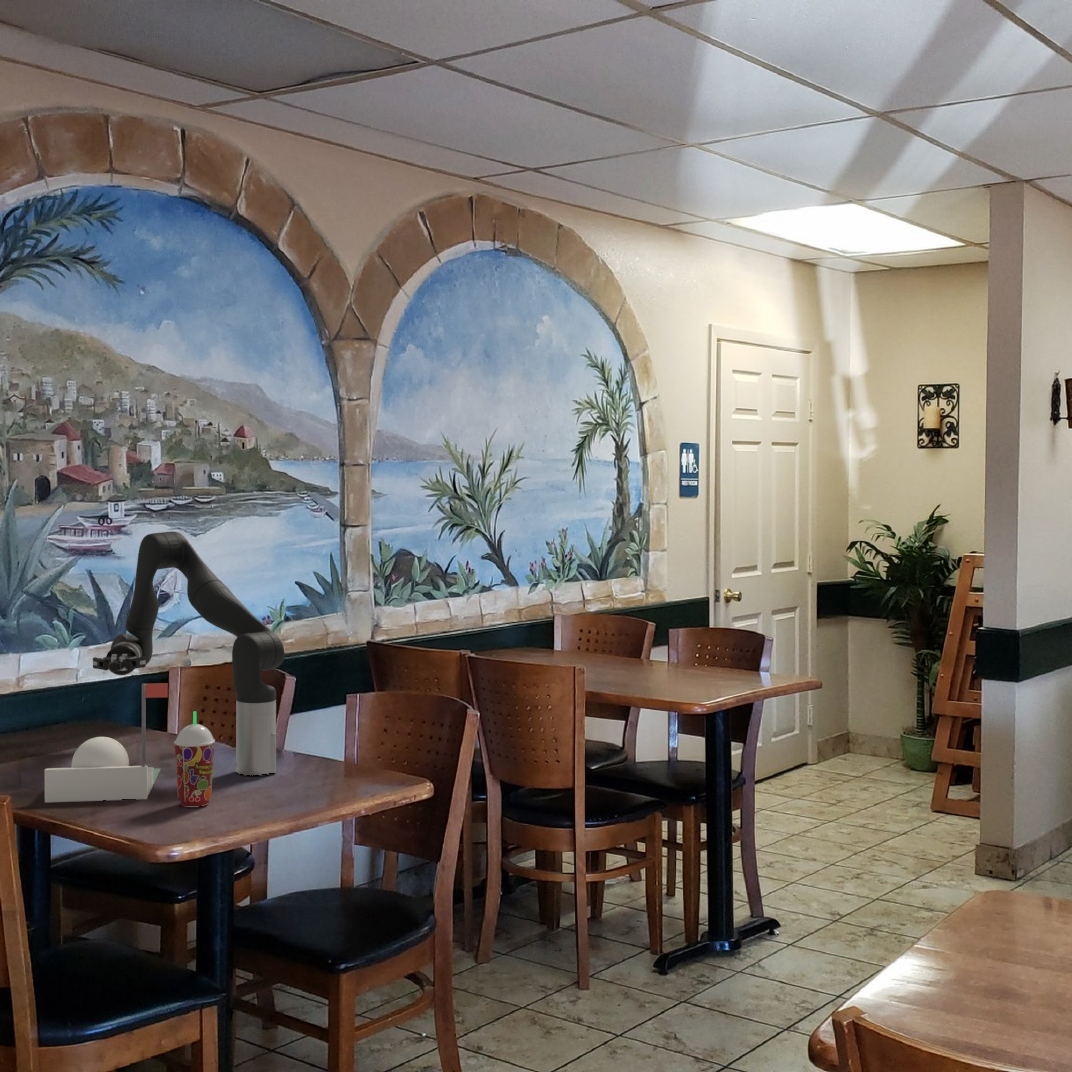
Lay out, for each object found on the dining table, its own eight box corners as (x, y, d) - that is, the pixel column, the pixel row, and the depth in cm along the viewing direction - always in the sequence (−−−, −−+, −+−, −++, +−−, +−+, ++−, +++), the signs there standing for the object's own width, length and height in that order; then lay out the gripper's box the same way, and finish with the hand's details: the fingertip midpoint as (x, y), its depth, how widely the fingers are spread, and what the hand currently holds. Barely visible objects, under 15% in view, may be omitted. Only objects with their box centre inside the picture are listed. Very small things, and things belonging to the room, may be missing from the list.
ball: (129, 725, 285) (122, 770, 277) (134, 757, 294) (128, 802, 285) (72, 726, 283) (63, 771, 275) (79, 758, 292) (71, 803, 283)
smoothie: (204, 810, 270) (204, 715, 269) (167, 808, 271) (167, 713, 271) (221, 801, 278) (221, 709, 277) (185, 799, 280) (185, 707, 279)
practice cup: (178, 769, 309) (178, 665, 308) (167, 798, 280) (167, 683, 279) (68, 772, 304) (67, 666, 303) (44, 802, 275) (44, 686, 274)
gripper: (95, 643, 321) (85, 652, 304) (151, 642, 323) (143, 650, 306) (96, 673, 321) (85, 683, 304) (151, 672, 324) (143, 682, 307)
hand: (114, 667), depth 305 cm, fingers closed
